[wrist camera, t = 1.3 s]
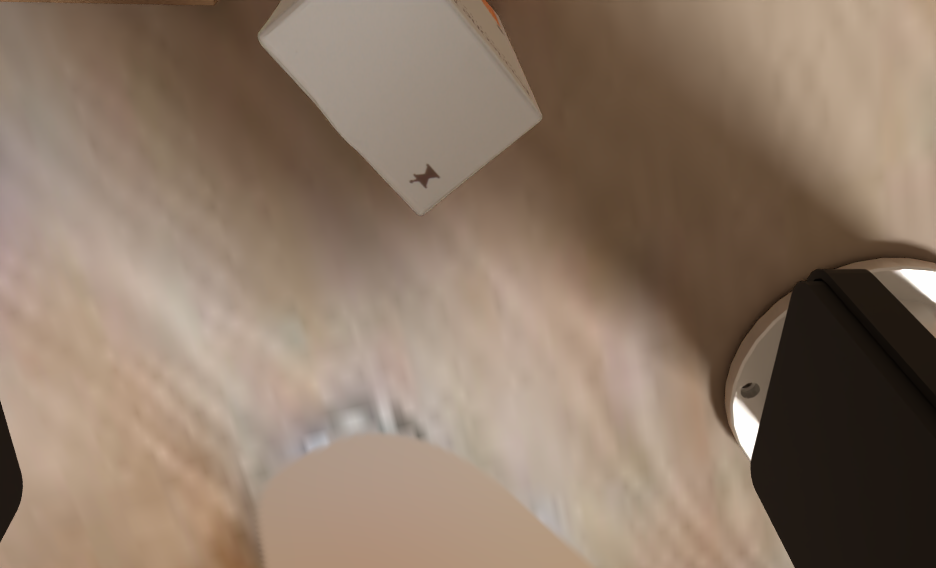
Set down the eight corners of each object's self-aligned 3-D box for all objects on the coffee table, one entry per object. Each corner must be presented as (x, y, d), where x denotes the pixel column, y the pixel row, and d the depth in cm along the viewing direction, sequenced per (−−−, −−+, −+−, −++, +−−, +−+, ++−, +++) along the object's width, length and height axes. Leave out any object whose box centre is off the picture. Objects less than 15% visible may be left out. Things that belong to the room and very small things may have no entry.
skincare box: (503, 16, 32) (552, 125, 21) (413, 89, 33) (418, 226, 22) (393, -128, 29) (388, -84, 19) (300, -43, 30) (247, 43, 20)
